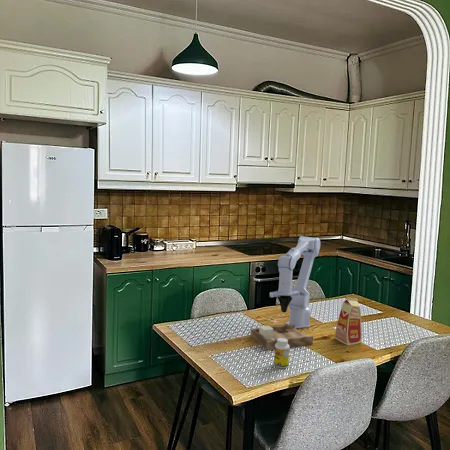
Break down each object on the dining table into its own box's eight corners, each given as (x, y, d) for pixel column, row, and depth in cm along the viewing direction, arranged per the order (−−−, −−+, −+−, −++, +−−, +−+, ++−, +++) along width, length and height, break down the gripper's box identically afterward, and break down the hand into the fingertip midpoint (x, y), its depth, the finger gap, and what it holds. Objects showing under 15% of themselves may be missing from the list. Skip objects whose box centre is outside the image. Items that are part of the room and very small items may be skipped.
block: (268, 335, 192) (268, 325, 191) (273, 339, 188) (273, 328, 187) (258, 336, 190) (259, 326, 190) (263, 340, 186) (264, 329, 185)
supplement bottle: (271, 363, 167) (272, 338, 166) (283, 361, 169) (284, 336, 168) (278, 369, 162) (280, 343, 161) (291, 367, 164) (292, 341, 163)
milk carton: (347, 345, 188) (350, 300, 186) (333, 338, 197) (336, 294, 194) (363, 342, 193) (366, 298, 191) (348, 335, 201) (351, 293, 199)
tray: (293, 331, 203) (293, 324, 203) (312, 344, 189) (313, 336, 188) (250, 336, 195) (250, 329, 195) (267, 350, 180) (267, 342, 180)
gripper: (275, 285, 191) (273, 315, 192) (304, 283, 197) (302, 313, 198) (268, 281, 198) (266, 311, 199) (295, 280, 203) (294, 308, 204)
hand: (283, 311), depth 199 cm, fingers closed
